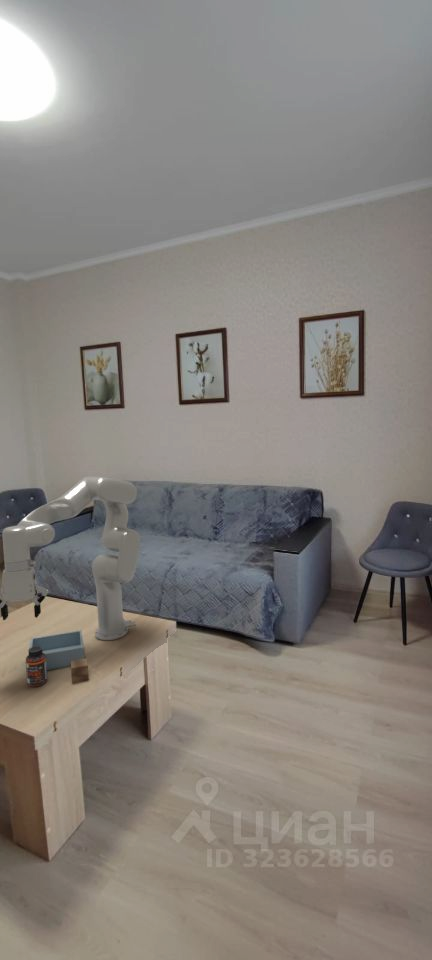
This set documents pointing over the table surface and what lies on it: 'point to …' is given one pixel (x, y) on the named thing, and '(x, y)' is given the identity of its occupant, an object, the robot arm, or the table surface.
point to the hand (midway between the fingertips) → (21, 617)
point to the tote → (60, 648)
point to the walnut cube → (79, 670)
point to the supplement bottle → (36, 667)
